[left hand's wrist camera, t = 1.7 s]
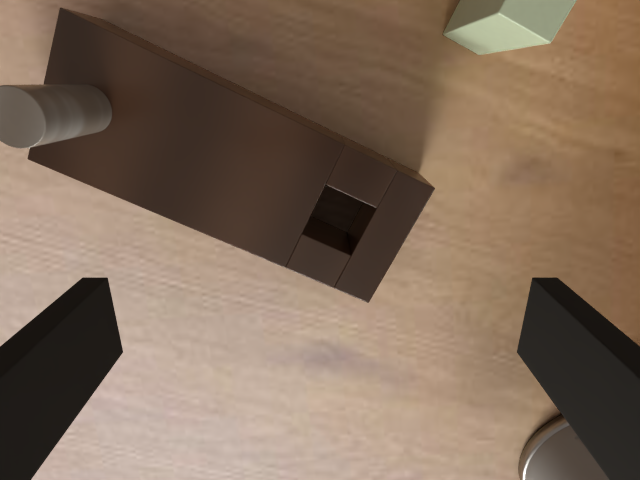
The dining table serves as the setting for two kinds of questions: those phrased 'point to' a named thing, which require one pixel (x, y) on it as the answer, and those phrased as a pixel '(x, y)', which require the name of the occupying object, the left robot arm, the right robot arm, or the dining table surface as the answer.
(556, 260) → the dining table surface
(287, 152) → the peg block
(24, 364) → the left robot arm
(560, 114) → the dining table surface
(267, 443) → the dining table surface
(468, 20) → the peg
